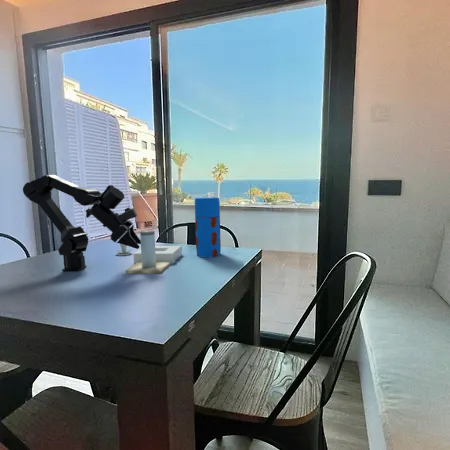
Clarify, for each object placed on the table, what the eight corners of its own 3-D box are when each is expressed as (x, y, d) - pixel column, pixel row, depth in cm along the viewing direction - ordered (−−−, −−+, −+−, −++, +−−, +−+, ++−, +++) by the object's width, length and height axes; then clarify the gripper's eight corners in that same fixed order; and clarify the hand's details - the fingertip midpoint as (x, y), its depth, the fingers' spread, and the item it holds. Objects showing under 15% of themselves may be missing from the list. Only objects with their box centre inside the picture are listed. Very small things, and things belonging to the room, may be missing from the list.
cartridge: (139, 267, 120) (138, 232, 119) (144, 264, 125) (142, 230, 124) (153, 267, 120) (151, 232, 118) (157, 264, 125) (156, 230, 123)
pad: (125, 273, 117) (125, 270, 117) (138, 264, 130) (138, 261, 130) (161, 273, 116) (160, 270, 116) (170, 264, 128) (170, 261, 128)
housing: (133, 263, 131) (133, 253, 131) (147, 254, 147) (146, 245, 147) (172, 263, 130) (172, 253, 129) (182, 254, 146) (181, 245, 145)
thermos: (193, 253, 147) (191, 198, 144) (214, 251, 152) (213, 197, 148) (201, 258, 137) (199, 198, 134) (224, 255, 142) (223, 197, 139)
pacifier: (132, 255, 147) (132, 252, 153) (131, 242, 146) (131, 239, 152) (115, 257, 146) (116, 253, 151) (114, 243, 145) (115, 240, 150)
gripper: (118, 202, 109) (153, 233, 112) (125, 199, 127) (155, 226, 131) (95, 226, 109) (131, 257, 112) (105, 220, 127) (136, 246, 130)
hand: (139, 245), depth 121 cm, fingers open, 9 cm apart
